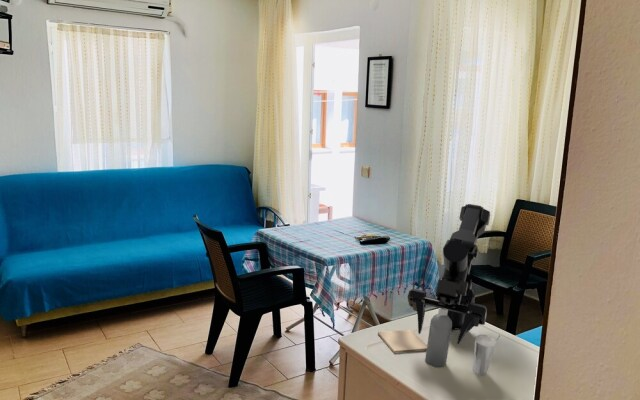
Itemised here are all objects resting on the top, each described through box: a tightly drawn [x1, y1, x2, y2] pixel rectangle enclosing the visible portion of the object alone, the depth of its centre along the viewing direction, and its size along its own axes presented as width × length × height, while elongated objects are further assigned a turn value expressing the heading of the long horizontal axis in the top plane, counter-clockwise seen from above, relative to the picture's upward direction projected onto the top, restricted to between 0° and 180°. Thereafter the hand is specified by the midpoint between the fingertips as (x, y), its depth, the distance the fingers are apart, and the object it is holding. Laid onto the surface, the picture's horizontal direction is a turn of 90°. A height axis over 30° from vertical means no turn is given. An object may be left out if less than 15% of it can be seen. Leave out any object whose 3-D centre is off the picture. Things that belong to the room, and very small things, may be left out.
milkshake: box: [472, 334, 501, 376], centre depth 118 cm, size 4×5×10 cm
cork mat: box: [377, 329, 427, 354], centre depth 131 cm, size 10×10×1 cm
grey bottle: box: [424, 308, 452, 369], centre depth 121 cm, size 5×5×14 cm
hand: (438, 338), depth 120 cm, fingers open, 9 cm apart
